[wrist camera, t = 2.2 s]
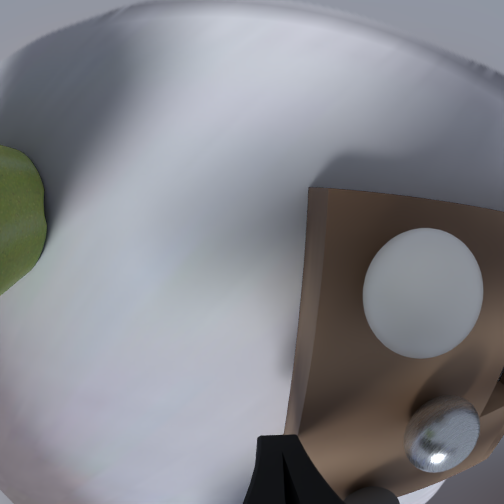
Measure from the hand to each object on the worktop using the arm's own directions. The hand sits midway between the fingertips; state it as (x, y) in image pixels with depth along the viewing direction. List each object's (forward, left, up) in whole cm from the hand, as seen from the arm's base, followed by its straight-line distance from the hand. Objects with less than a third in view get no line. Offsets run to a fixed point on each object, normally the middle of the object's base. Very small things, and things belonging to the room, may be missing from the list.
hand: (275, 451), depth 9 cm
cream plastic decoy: (+6, -4, +1) cm, 7 cm away
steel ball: (0, -7, +1) cm, 7 cm away
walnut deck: (0, -10, -3) cm, 10 cm away
